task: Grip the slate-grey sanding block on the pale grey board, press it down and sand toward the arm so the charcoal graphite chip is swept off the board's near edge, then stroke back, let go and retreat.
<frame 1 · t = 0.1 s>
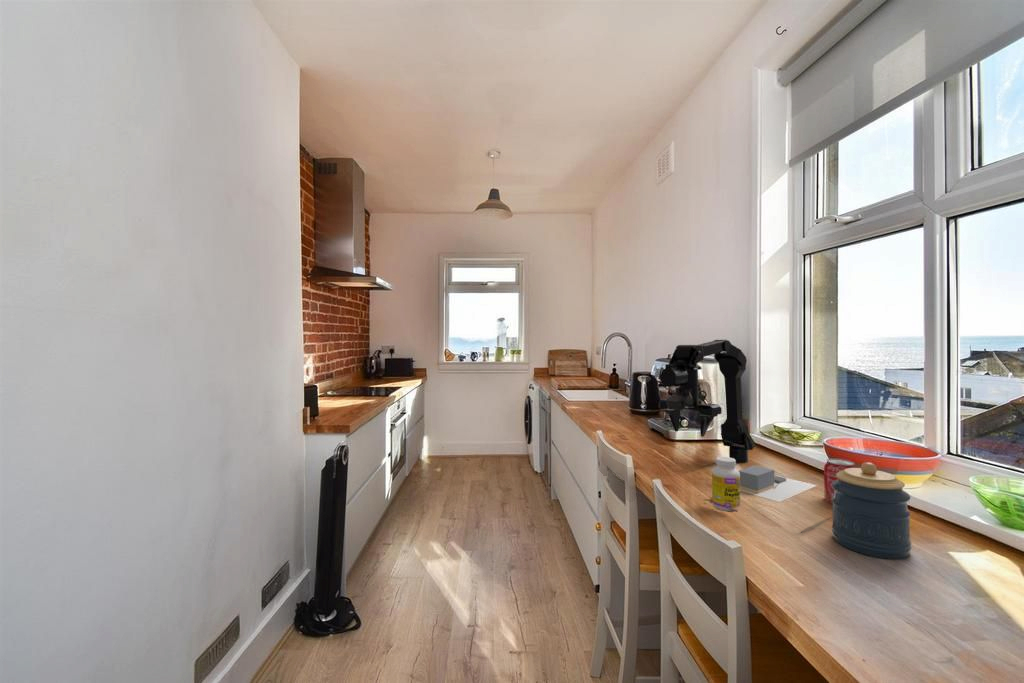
hand: (689, 433, 136), 15 cm above the table, tool pointing down, fingers open, 9 cm apart
sanding block: (756, 487, 124), point 1 cm above the table, touching board
board: (765, 489, 126), on the table
supplement bottle: (726, 508, 114), on the table
soda can: (841, 508, 112), on the table
graphite chip: (775, 480, 130), point 1 cm above the table, touching board
canister: (870, 546, 92), on the table
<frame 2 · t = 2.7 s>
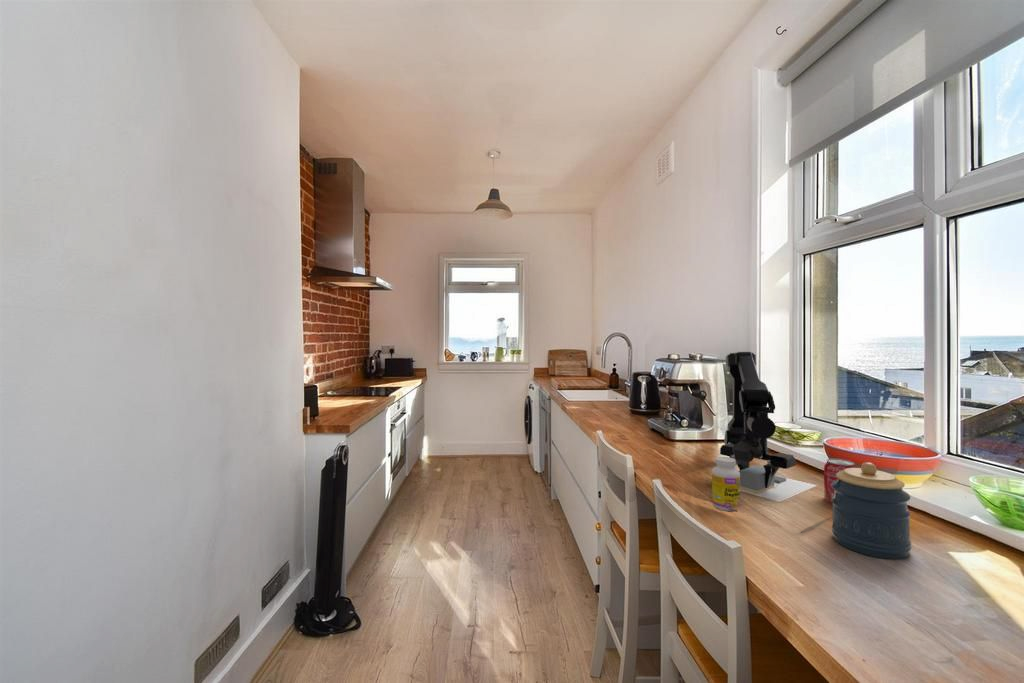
hand: (756, 484, 124), 2 cm above the table, tool pointing down, fingers closed on sanding block, 5 cm apart
sanding block: (756, 487, 124), point 1 cm above the table, touching board, gripper
everything else where it was.
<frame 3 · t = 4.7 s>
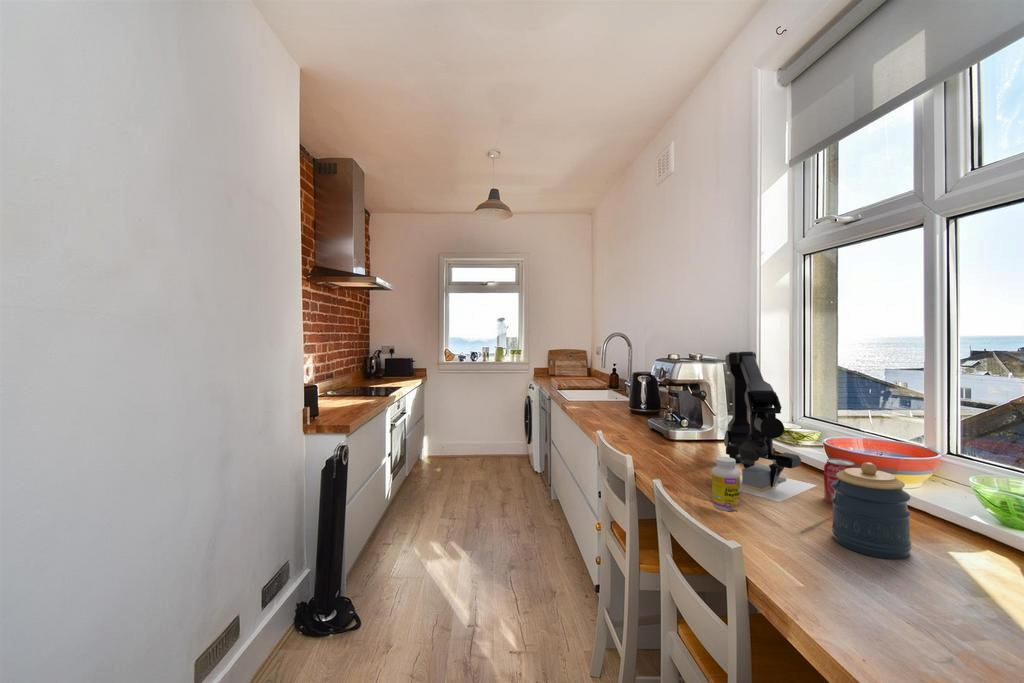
hand: (761, 484, 125), 2 cm above the table, tool pointing down, fingers closed on sanding block, 5 cm apart
sanding block: (760, 486, 125), point 2 cm above the table, touching gripper
everything else where it was.
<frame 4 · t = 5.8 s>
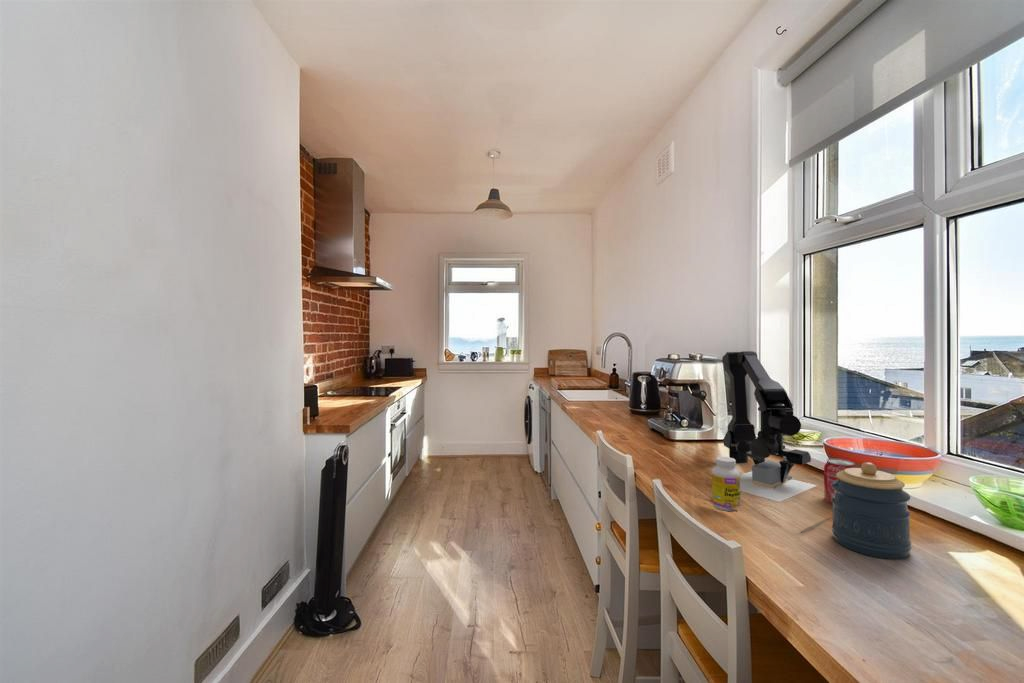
hand: (772, 480, 129), 2 cm above the table, tool pointing down, fingers closed on sanding block, 5 cm apart
sanding block: (769, 482, 128), point 2 cm above the table, touching graphite chip, gripper
graphite chip: (781, 478, 131), point 2 cm above the table, touching sanding block
everything else where it was.
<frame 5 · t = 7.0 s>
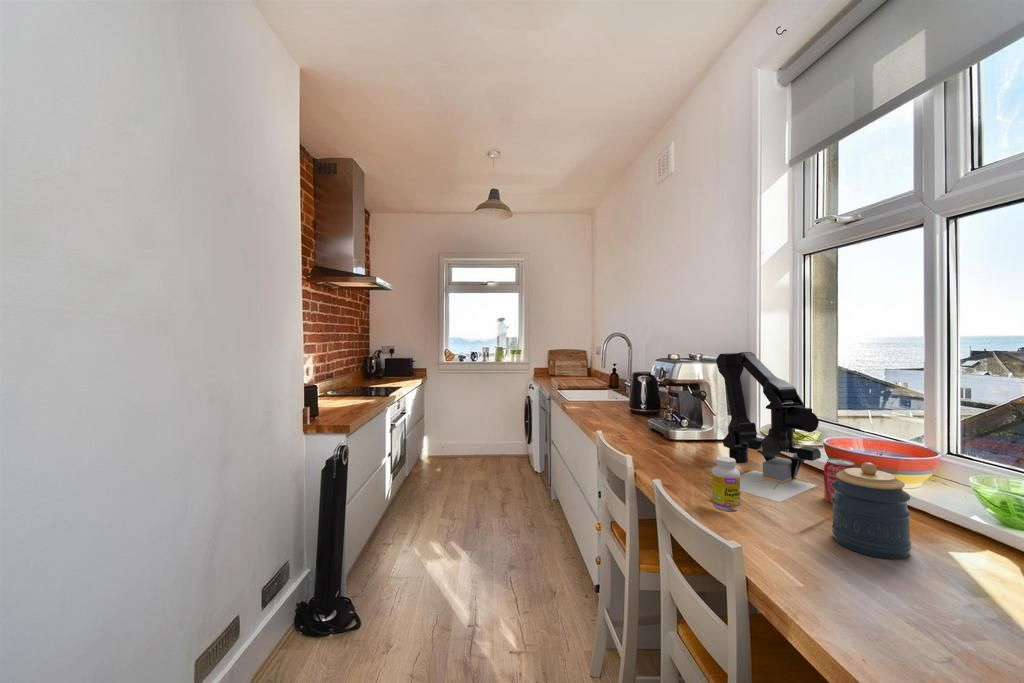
hand: (782, 476, 132), 2 cm above the table, tool pointing down, fingers closed on sanding block, 5 cm apart
sanding block: (780, 477, 131), point 2 cm above the table, touching gripper
graphite chip: (788, 483, 133), on the table
everything else where it was.
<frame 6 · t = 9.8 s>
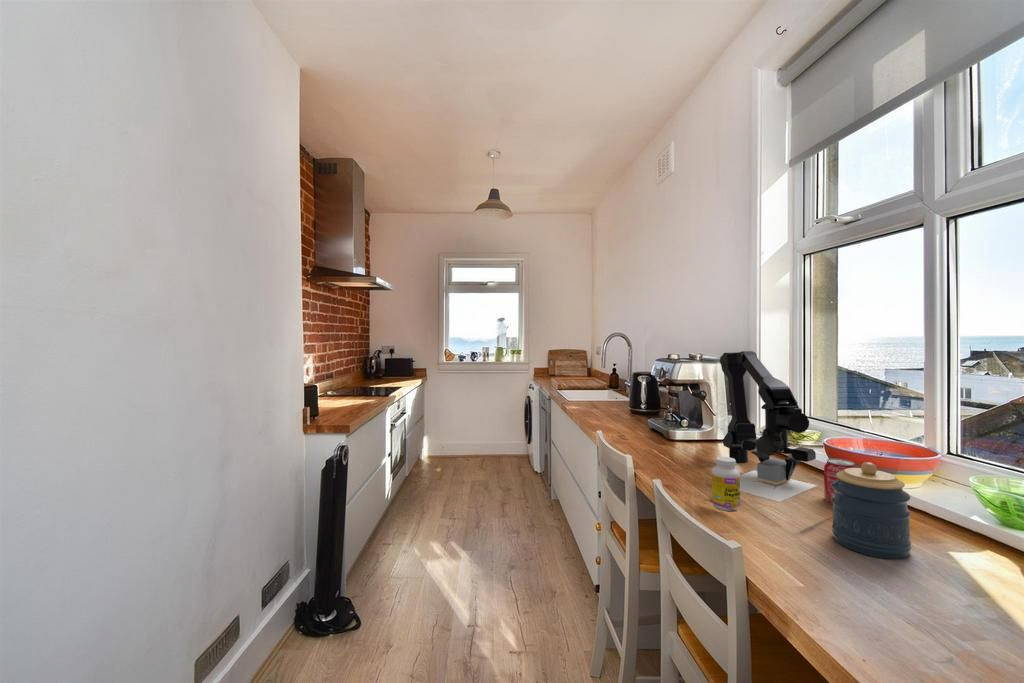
hand: (777, 477, 130), 2 cm above the table, tool pointing down, fingers closed on sanding block, 5 cm apart
sanding block: (774, 479, 129), point 2 cm above the table, touching gripper
everything else where it was.
when the fingers open (2 cm above the table, at t = 12.6 s): sanding block stays where it is, resting on board.
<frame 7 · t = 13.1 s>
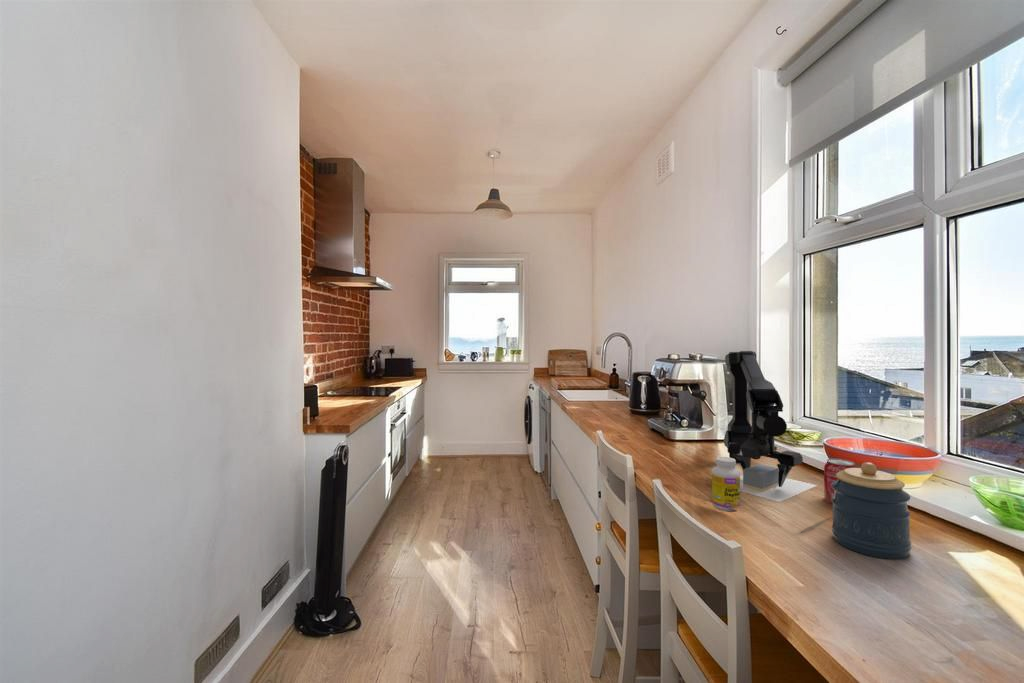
hand: (763, 482, 126), 2 cm above the table, tool pointing down, fingers open, 9 cm apart
sanding block: (761, 485, 125), point 1 cm above the table, touching board
everything else where it was.
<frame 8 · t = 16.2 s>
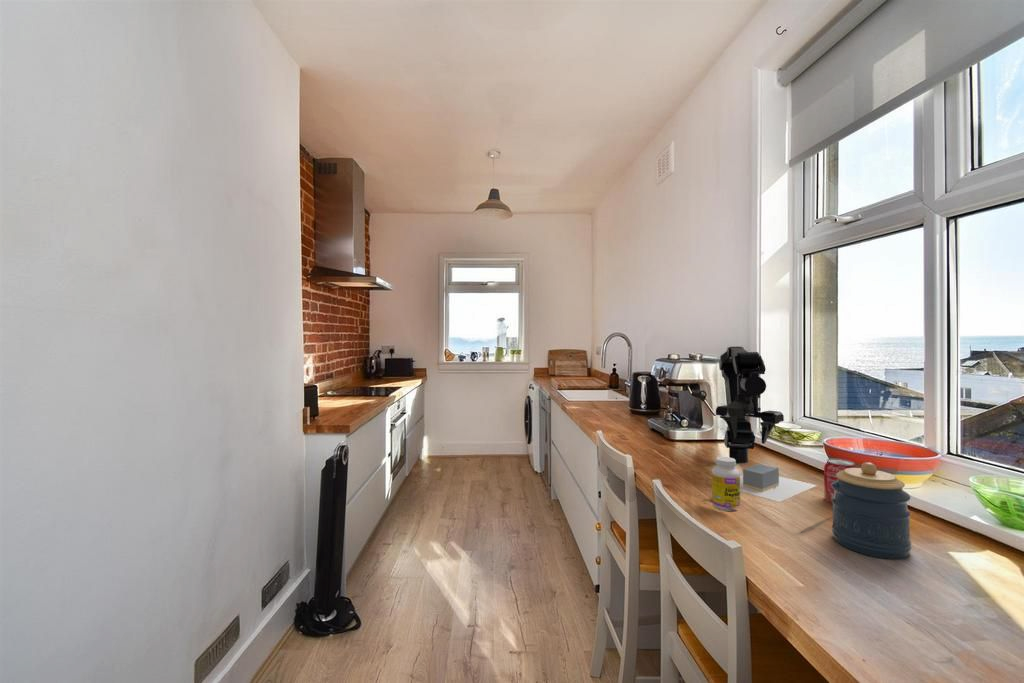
hand: (748, 440, 136), 12 cm above the table, tool pointing down, fingers open, 9 cm apart
nothing on the table moved.
at the end: graphite chip inside the target area (9.2 cm from its centre), on the table; sanding block inside the target area (1.9 cm from its centre), point 1.5 cm above the table; the gripper is holding nothing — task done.
